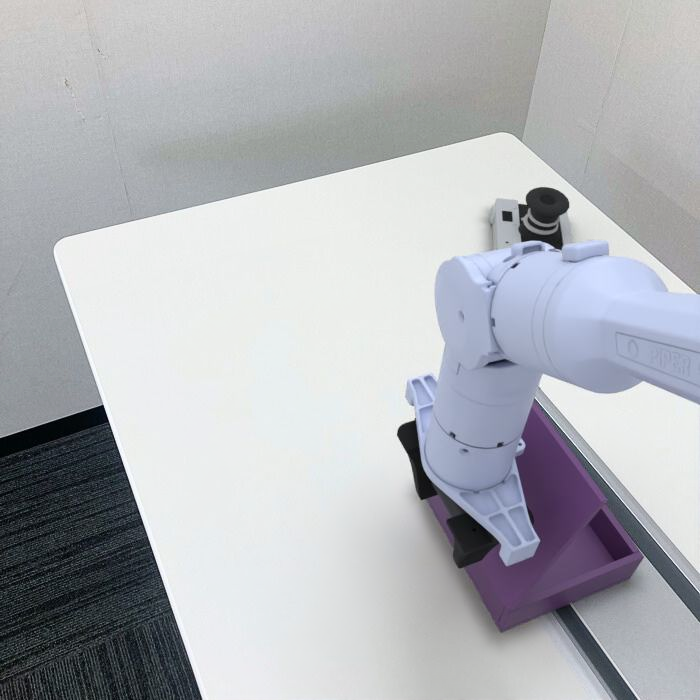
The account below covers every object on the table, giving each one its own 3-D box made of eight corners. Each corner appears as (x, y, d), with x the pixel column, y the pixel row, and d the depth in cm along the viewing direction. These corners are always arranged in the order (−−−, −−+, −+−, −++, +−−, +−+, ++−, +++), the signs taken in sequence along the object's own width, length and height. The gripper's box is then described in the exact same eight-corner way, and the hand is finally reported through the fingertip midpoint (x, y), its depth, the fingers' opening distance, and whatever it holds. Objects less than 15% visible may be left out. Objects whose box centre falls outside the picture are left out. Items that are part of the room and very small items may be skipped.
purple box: (541, 453, 69) (551, 429, 67) (630, 578, 61) (644, 557, 58) (423, 494, 66) (428, 471, 63) (500, 633, 57) (509, 612, 55)
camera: (591, 253, 79) (495, 243, 79) (573, 302, 84) (483, 293, 84) (576, 171, 89) (491, 163, 90) (561, 220, 94) (481, 212, 95)
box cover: (500, 355, 55) (452, 357, 53) (608, 500, 47) (557, 510, 45) (431, 468, 63) (387, 474, 61) (513, 609, 55) (466, 622, 53)
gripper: (603, 484, 43) (547, 592, 53) (478, 318, 52) (450, 437, 62) (496, 524, 41) (459, 628, 51) (385, 343, 50) (372, 462, 60)
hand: (448, 525), depth 56 cm, fingers open, 5 cm apart
